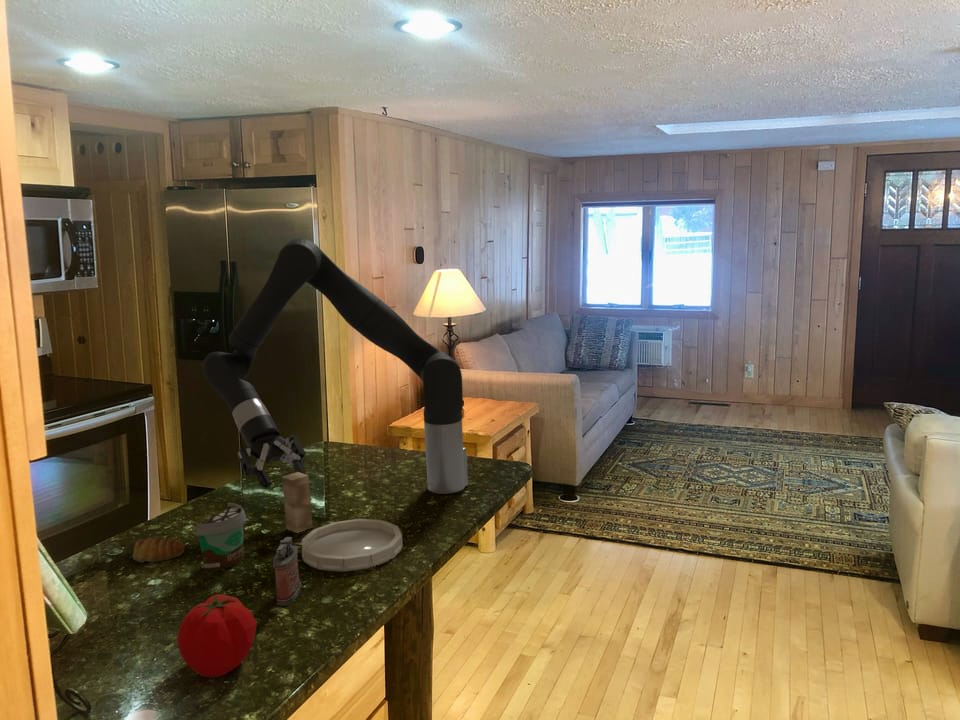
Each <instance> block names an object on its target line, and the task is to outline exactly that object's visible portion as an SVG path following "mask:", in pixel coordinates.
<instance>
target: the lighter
mask: <svg viewBox="0 0 960 720" xmlns="http://www.w3.org/2000/svg"><path fill="white" fill-rule="evenodd" d="M298 551H299V550H298V546H297V545H293V537H291V536H286V537H284V539H281V540H280V541H279V546H278V548H277V549H276V555H275V556H274V558H273V562H272V566H273V568H274V574H275V588H276V605H278V606H287V605H290V604H291V603H292V602H294V601H295V599H296V598H297V597H298V595H299V594H300V591H301V580H300V575H299V573H300V572H299V564H298V563H299V562H298Z"/></svg>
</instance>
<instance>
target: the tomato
mask: <svg viewBox="0 0 960 720" xmlns="http://www.w3.org/2000/svg"><path fill="white" fill-rule="evenodd" d="M178 629H179V630H178V633H177V638H176V639H177V647H178V650H179V653H180V655H181V657H182V658H183V661H184V663H186V664H187V666H188V667H190V669H191V670H192V671H193V672H195V673H197V674H198V675H200V677H203V678H204V677H205V678H219V677H222V676H225V675H227V674H228V673H230V672H231V671H233V670H234V669H235V668H237V667H239V666H240V665H241V664H242V662H243V661H244V659H246V657H247V656H248V655H249V653H250V651H251V650H252V649H251V648H252V646H253V644H254V641H255V638H256V634H257V633H256V632H257V621H256V618H255V617H254V615H253V613H252V612H251V610H250V609H248V608H247V607H245V606H244V605H243V603H242V602H241V601H240V600H239V598H237V597H235V596H231V595H224V594H218V593H217V594H215V595H214V594H213V595H211V596H210V597H209V598H208V599H207V600H206V601H205V602H200V603H199V604H196V605H195V606H193V607H191V609H190V610H189V611H188V613H186V615H185V616H184V618H183V620H182V622H181V624H180V626H179V628H178Z"/></svg>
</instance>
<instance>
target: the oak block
mask: <svg viewBox="0 0 960 720" xmlns="http://www.w3.org/2000/svg"><path fill="white" fill-rule="evenodd" d="M281 479H282V490H283V503H284V511H285V512H284V513H285V514H284V515H285V524H286V530H287V529H288V531H289V530H291V531H293V532H295V533H298V534H300V533H299V532H301V533H303V532H302V531H304V532H306V531H305V530H307V529H310V528H313V527H314V526H313V516H312V515H313V514H312V513H313V512H312V504H311V503H312V502H311V492H310V489H311V488H310V479H309V475H308V474H306V473H305V474H303V473H300V472H293V473H289V474H287V475H283V476H281ZM310 530H311V529H310ZM291 531H290V532H291ZM307 531H308V530H307ZM293 532H292V533H293ZM295 533H294V534H295Z"/></svg>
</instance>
